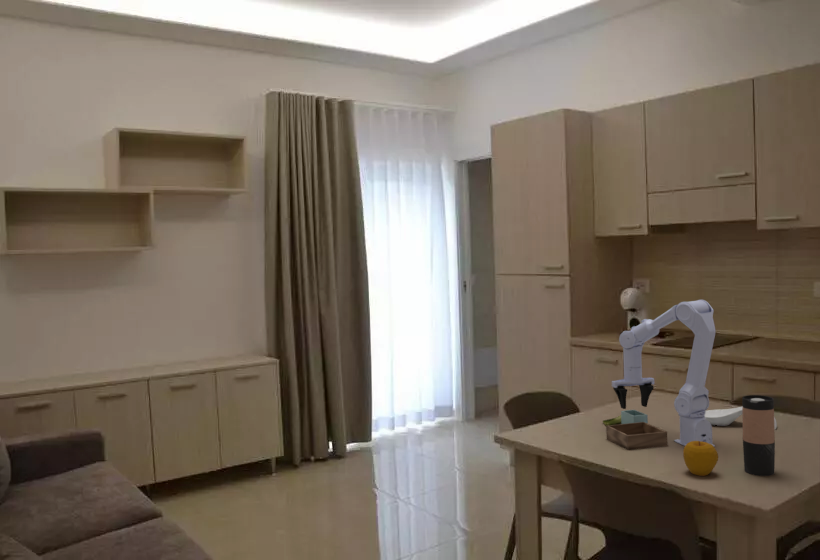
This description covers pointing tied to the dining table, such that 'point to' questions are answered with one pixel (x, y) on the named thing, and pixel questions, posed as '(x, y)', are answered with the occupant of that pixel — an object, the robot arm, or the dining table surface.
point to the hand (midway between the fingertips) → (633, 407)
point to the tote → (633, 417)
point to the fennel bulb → (612, 421)
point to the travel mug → (758, 435)
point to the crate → (636, 435)
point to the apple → (700, 457)
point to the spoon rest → (725, 416)
